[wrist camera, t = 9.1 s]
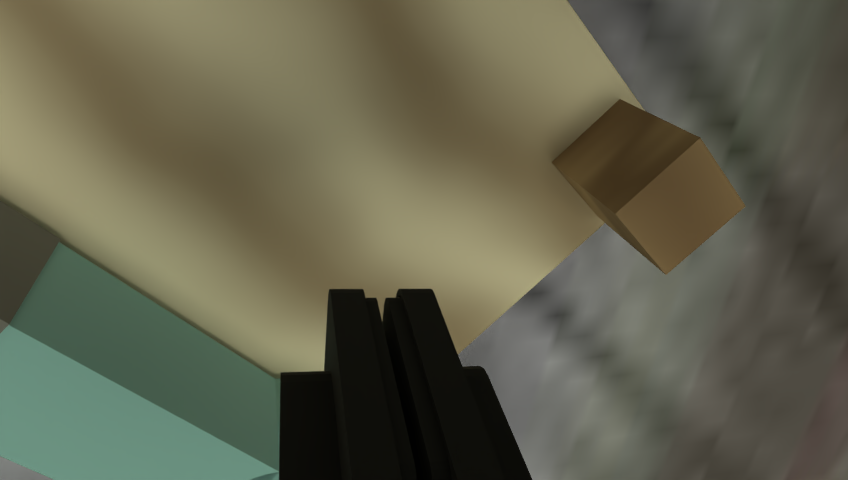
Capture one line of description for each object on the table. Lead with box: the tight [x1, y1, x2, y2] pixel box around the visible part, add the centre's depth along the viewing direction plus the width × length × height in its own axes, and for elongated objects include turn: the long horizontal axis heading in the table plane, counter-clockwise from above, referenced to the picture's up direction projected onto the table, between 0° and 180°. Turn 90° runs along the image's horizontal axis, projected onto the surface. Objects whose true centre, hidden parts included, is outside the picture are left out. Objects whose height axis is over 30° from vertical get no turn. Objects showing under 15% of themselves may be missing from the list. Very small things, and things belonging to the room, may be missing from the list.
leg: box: [0, 201, 280, 480], centre depth 17 cm, size 14×4×5 cm, turn 42°
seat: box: [0, 0, 745, 379], centre depth 17 cm, size 20×20×6 cm
